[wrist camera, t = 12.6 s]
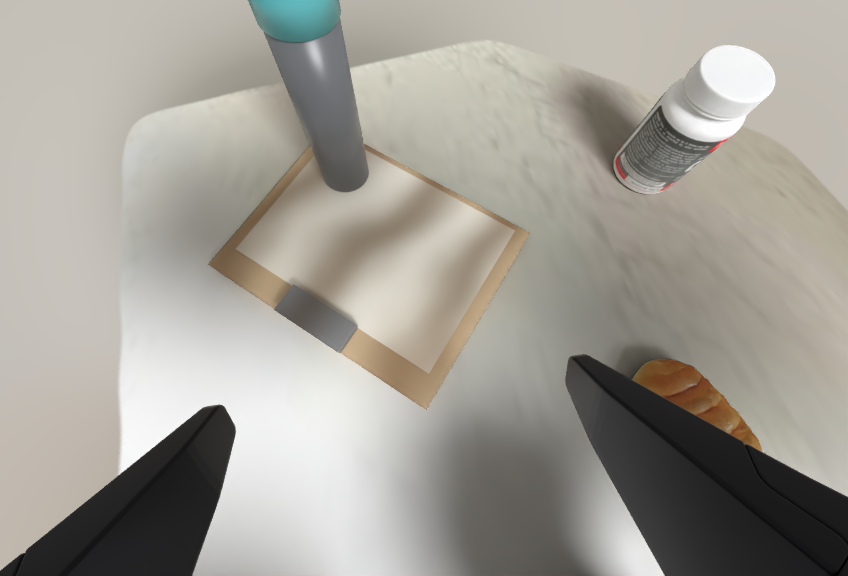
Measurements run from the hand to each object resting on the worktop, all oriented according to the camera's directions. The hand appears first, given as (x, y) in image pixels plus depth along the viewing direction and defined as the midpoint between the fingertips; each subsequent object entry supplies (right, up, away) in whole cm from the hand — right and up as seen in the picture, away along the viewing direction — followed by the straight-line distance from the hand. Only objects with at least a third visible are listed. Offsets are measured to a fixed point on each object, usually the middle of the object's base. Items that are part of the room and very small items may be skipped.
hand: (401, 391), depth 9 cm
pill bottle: (+18, +12, +17) cm, 28 cm away
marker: (-5, +11, +16) cm, 20 cm away
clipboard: (-3, +5, +15) cm, 17 cm away
